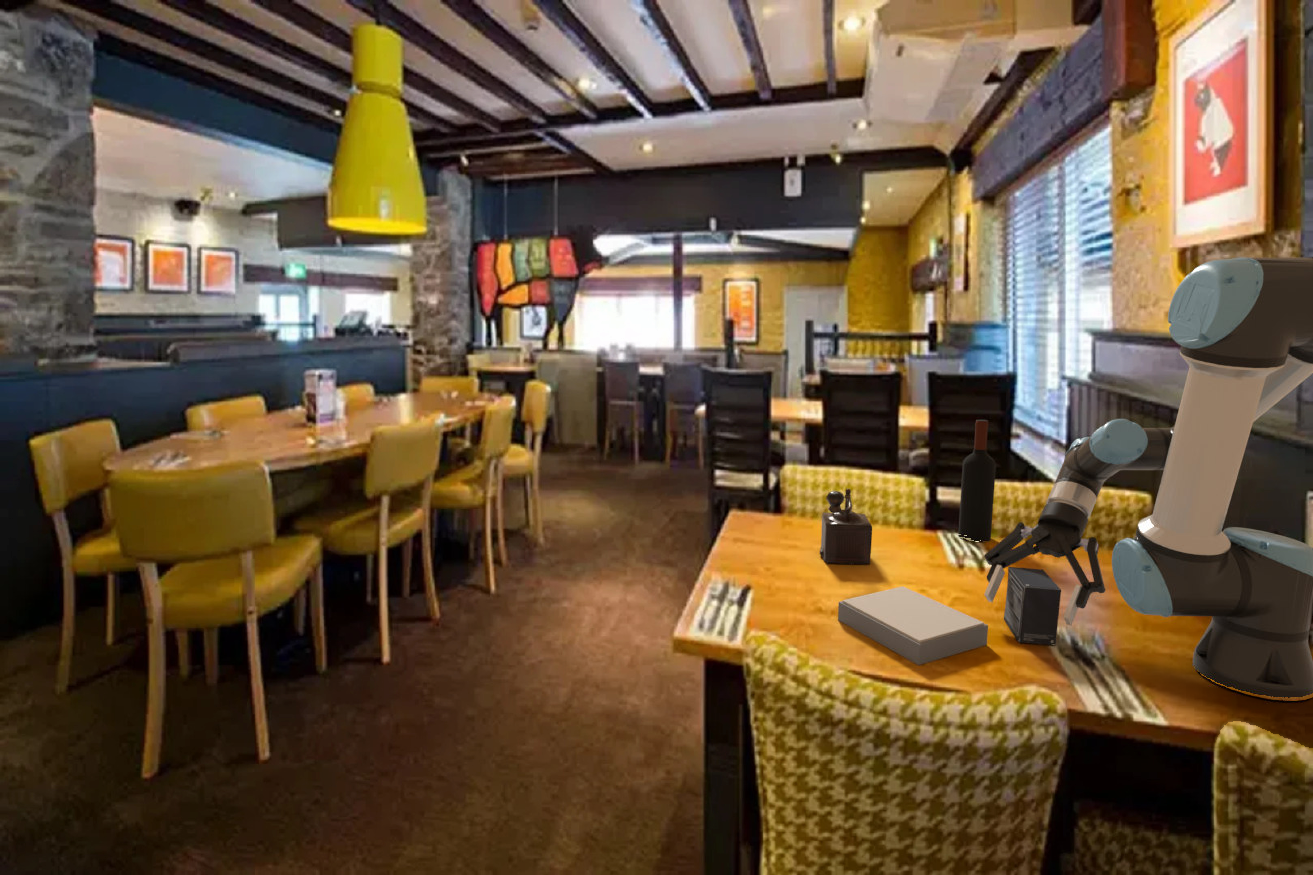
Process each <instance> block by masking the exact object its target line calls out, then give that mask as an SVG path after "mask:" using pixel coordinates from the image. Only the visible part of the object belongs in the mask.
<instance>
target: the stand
mask: <svg viewBox="0 0 1313 875" xmlns="http://www.w3.org/2000/svg"><path fill="white" fill-rule="evenodd" d="M837 611H838V612H837V614H838V615H837V621H838V622H840V623H843V624H844V625H846V626H848V627H849V628H852V629H853V630H855V631H857V632H858V633H860V634H862V635H864V636H866V637H867V638H869V639H872V641H875V642H876V643H878V644H879V645H882V646H884V647H886V648H887V649H889V650H890V651H893V652H894V653H896V654H898V655H900V656H901V657H902V658H905V659H907V660H909V661H910V662H912V663H913V664H915V665H917V666H921V665H923V664H924V665H925V664H927V663H930V662H934V661H937V660H940V659H944V658H947V657H950V656H954V655H957V654H960V653H963V652H967V651H970V650H974V649H977V648H981V647H984V646H987V645H988V633H989V632H988V631H989V625H988V624H986V623H985V622H984V621H982V620H979V619H977V618H975V617H972V616H970V615H967V614H966V613H964V612H961V611H959V610H957V609H954V608H952V607H950V606H948V605H945V604H944V603H941V602H938V601H936V600H934V599H932V598H930V597H928V596H925V595H923V594H921V593H919V592H917V591H914V590H912V589H910V588H908V587H905V586H904V585H903V586H897V587H894V588H890V589H886V590H885V589H884V590H881V591H876V592H873V593H869V594H863V595H860V596H856V597H855V596H854V597H852V598H847V599H843V600H841V601H838V610H837Z"/></svg>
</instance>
